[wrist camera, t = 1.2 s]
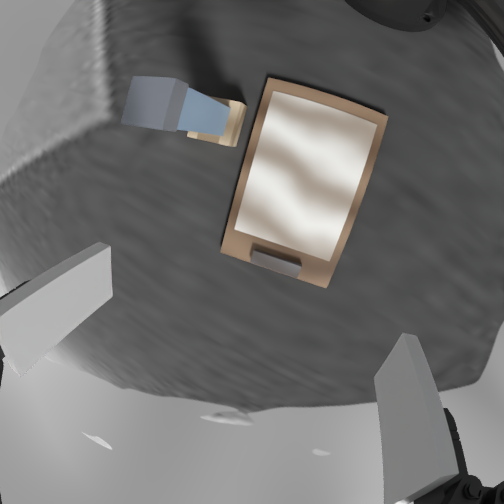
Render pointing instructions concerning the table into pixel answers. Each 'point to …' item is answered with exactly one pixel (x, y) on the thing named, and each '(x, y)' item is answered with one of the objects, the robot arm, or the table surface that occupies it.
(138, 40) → the table surface
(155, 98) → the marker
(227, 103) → the stand
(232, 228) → the clipboard
